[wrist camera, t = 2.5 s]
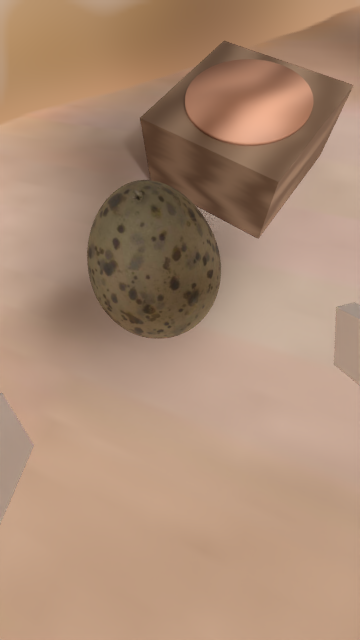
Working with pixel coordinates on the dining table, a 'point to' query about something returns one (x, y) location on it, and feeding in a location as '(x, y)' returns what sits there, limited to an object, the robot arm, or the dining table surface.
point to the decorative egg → (153, 260)
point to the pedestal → (241, 133)
